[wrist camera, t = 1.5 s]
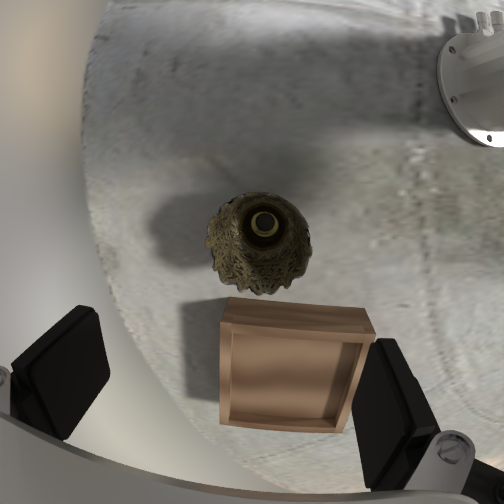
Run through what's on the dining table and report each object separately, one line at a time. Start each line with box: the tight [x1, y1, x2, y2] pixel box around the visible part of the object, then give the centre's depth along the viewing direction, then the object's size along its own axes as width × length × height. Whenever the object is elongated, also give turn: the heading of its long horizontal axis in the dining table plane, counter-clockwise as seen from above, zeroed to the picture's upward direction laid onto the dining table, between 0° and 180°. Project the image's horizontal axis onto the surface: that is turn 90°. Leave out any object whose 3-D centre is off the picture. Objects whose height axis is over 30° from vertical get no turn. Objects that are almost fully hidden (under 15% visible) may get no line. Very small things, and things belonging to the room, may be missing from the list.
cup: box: [205, 192, 312, 296], centre depth 25 cm, size 8×7×8 cm
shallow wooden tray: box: [219, 297, 376, 433], centre depth 31 cm, size 14×14×6 cm
